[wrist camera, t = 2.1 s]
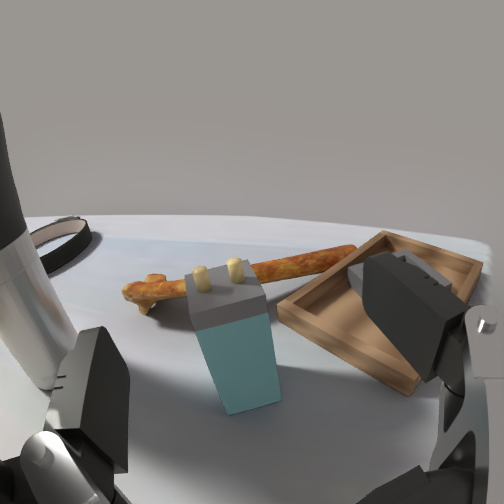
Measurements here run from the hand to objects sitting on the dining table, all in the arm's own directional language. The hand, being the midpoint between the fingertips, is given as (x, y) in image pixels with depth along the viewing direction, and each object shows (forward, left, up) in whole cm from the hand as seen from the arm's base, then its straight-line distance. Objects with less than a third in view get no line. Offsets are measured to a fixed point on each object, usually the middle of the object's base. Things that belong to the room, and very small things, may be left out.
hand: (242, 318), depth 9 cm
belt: (-76, -11, -18) cm, 79 cm away
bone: (-22, +15, -18) cm, 33 cm away
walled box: (-7, +25, -18) cm, 31 cm away
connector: (-10, +5, -18) cm, 21 cm away
